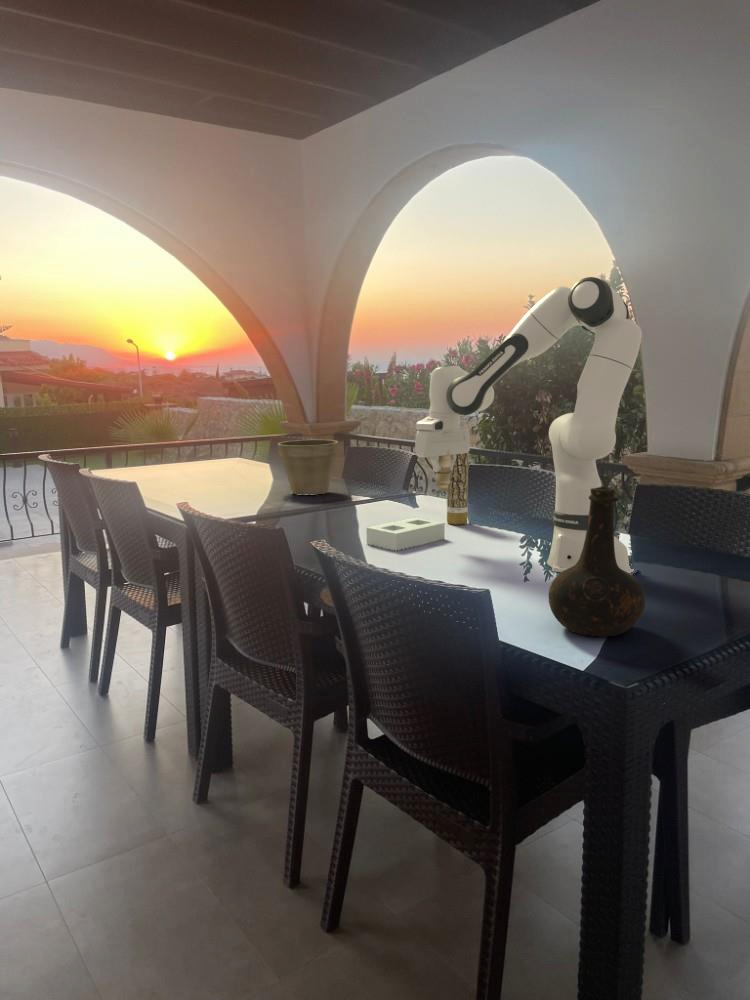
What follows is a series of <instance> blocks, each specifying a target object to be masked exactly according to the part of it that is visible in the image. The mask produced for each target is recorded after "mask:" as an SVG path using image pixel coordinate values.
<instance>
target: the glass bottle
mask: <svg viewBox="0 0 750 1000" xmlns="http://www.w3.org/2000/svg"><path fill="white" fill-rule="evenodd" d="M590 491H591V495H590V496H589V499H590V510H589V518H588V525H587V531H586V537H585V541H584V546H583V549H582V552H581V555H580V558H579V560H578V562H577V563H576V564H575V565H574V566H572V567H570V568H568V569H566V570H564V571H562V572H559V573H558V574H557V575H556V576H555V577H554V579H553V580H552V582H551V584H550V586H549V589H548V595H547V596H548V604H549V607H550V611H551V613H552V614H553V616H554V618H555V619H556V621H557V622H558V623H559V624H560V625H561V626H562V627H564V628H565V629H567V630H568V631H571V632H572V633H573V632H574V633H576V634H579V635H582V634H583V635H584V636H587V635H589V636H588V637H595V636H596V637H597V638H604V637H605V638H607V637H608V636H610V637H616V636H618V635H619V636H620V635H622V634H623V633H625V632H627V631H628V630H630V628H633V626H634V625H635V624H636V623H637V622H638V621H639V620H640V618H641V616H642V614H643V612H644V609H645V606H646V593H645V591H644V590H645V589H643V586H642V585H641V583H640V581H638V579H637V578H636V577H635V576H634V575H631V574H629V573H628V572H626V571H624V570H622V569H620V568H619V567H618V565H617V562H616V558H615V549H614V536H615V532H614V530H615V525H614V524H615V523H614V522H615V521H614V520H615V519H614V518H615V514H614V513H615V502H618V501H620V498H619V497H617V496H615V495H616V489H615V488H612V487H608V486H601V487H598V488H591V489H590Z"/></svg>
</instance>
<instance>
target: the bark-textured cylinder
mask: <svg viewBox="0 0 750 1000" xmlns="http://www.w3.org/2000/svg"><path fill="white" fill-rule="evenodd" d="M468 501H469V452H468V453H463V454H456V460H455V462H454V464H453V470H450V484H448V491H446V522H447V524H448V525H451V526H462V525H466V524H467V523H468V510H469V509H468V508H469V507H468V503H469V502H468Z"/></svg>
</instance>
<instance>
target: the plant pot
mask: <svg viewBox="0 0 750 1000" xmlns="http://www.w3.org/2000/svg"><path fill="white" fill-rule="evenodd" d="M277 449H278V450H277V451H278V456H280V457H281V461H282V465H283V468H284V470H285V471H284V472H285V474H286V477H287V480H288V484H289V486H290V490H291V492H292V494H293V493H294V494H308V495H310V494H323V493H326V494H327V493H328V491H329V488H330V482H331V478H332V474H333V469H334V466H335V460H336V455H337V454H338V453H339V441H338V440H336V439H335V440H334V439H299V440H298V439H297V440H289V441H288V440H286V441H281V442H278V443H277ZM294 494H293V495H294ZM323 495H324V494H323Z"/></svg>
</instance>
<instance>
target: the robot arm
mask: <svg viewBox="0 0 750 1000" xmlns="http://www.w3.org/2000/svg"><path fill="white" fill-rule="evenodd" d="M575 326H581V328H582V329H583V330H584V331H587V332H589V333H591V334H592V335H594V343H593V345H592V347H591V349H590V352H589V354H588V355H589V356H588V357H587V360H586V362H585V365H584V368H583V370H582V372H581V374H580V377H579V380H578V381H577V385H576V386H577V387H576V389H577V395H576V402H575V406H574V407H575V408H574V411H573V412H569V413H568V412H567V413H565V414H562V415H560V416H558V417H557V418H556V419H554V420H552V422H551V424H550V426H549V429H548V439H549V441H550V444H551V449H552V450H551V451H552V460H553V466H554V474H555V503H554V504H555V509H554V510H553V517H552V528H553V533H552V534H553V535H552V540H551V541H552V543H551V546H550V552H549V555H548V558H547V561H546V564H547V566H549V567H550V568H551V569H552V571H553V572H557V573H561V572H562V571H564V570H566V569H568V568H570V567H572V566H574V565H575V564H576V563H577V562H578V560H579V558H580V555H581V552H582V549H583V546H584V541H585V537H586V531H587V525H588V518H589V510H590V499H589V496H590V495H591V491H590V489H591V488H598V487H602V481H601V478H600V475H599V472H598V468H597V462H596V460H600V459H603V458H606V457H607V456H608V455H610V454H611V453H612V451H613V450H614V448H615V445H616V442H617V436H616V423H617V417H618V411H619V407H620V402H621V400H622V396H623V393H624V391H625V388H626V386H627V384H628V381H629V379H630V376H631V374H632V371H633V369H634V366H635V364H636V361H637V358H638V355H639V351H640V347H641V342H642V337H643V332H642V329H641V327H640V326H639V325H638V324H637V323H636V322H635V321H633V320H631V319H630V311H629V307H628V304H627V303H626V302H625V301H624V300H623V299H622V297H621V296H620V294H619V293H618V291H616V289H614V287H611V286H610V285H609V283H607V281H605V280H603V279H601V278H599V277H594V276H589V277H588V276H587V277H584V278H581V279H580V280H578V281H577V282H575V283H574V284H573V285H572V287H571V288H570V287H568V286H562V285H561V286H557V287H555V288H554V289H552V290H550V291H549V292H548V293H547V294H546V295H543V297H541V298H540V300H538V301H537V302H536V303H535V304H534V305H533V306H532V307H531V308H530V309H529V310H528V311H527V312H526V313H525V314H523V316H522V317H521V319H520V320H518V322H517V323H516V325H515V326H514V327H513V329H511V331H510V332H509V333H508V335H506V337H505V338H504V339H503V341H502V342H501V343H500V344H499V345H498V346H497V347H496V348H495V349H494V350H493V351H492V352H491V353H490V354H489V355H488V356H487V357H486V358H484V360H483V361H482V362H481V363H479V364H478V366H476V367H475V368H474V369H473V370H472V371H470V372H467V371H466V370H464V369H462V368H461V367H460V366H459V365H458V364H447V365H441V366H437V367H435V368H434V369H433V370H432V372H431V375H430V381H429V392H428V393H429V394H428V397H429V402H430V403H429V404H430V405H429V410H428V416H426V417H424V418H423V419H420V420H418V421H417V422H416V423H415V429H416V430H417V431H416V434H415V439H414V441H415V442H414V443H415V444H414V450H415V451H414V452H415V455H416V457H418V458H430V459H429V460H430V462H431V465H432V471H433V473H436V472H440V471H441V466H440V465H439V464H438V461H437V460H439V456H444V455H446V453H447V449H450V470H453V464H454V462H455V460H456V454H463V453H468V454H469V452H470V451H471V438H470V431H469V426H468V424H467V423H466V422H465V421H460V420H461V416H469V415H472V414H474V413H478V412H482V411H484V410H486V409H488V408H489V407H491V405H492V403H493V402H494V399H495V389H494V386H493V385H494V384H496V383H497V382H498V381H499V380H500V378H501V379H502V377H503V376H504V375H505V374H506V373H507V372H508V371H509V370H510V369H512V368H513V367H515V366H516V365H518V364H519V363H522V362H525V361H527V360H529V359H533V358H536V357H539V356H540V355H542V354H543V353H545V352H546V351H548V350H549V349H550V348H551V347H552V346H554V345H555V344H556V343H557V342H558V341H559V340H560V339H561V338H562V337H563V335H565V334H566V332H567V331H569V330H570V329H572V328H573V327H575ZM614 549H615V558H616V562H617V565H618V567H619V568H620V569H622V570H624V571H626V572H628V573H631V572H633V571H634V569H631V568H630V566H629V564H630V561H629V560H630V559H629V553H628V548H627V546H626V545H625V544H624V543H623V542H622V541H621V540H619V538H618V537H616V536H615V535H614Z"/></svg>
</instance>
